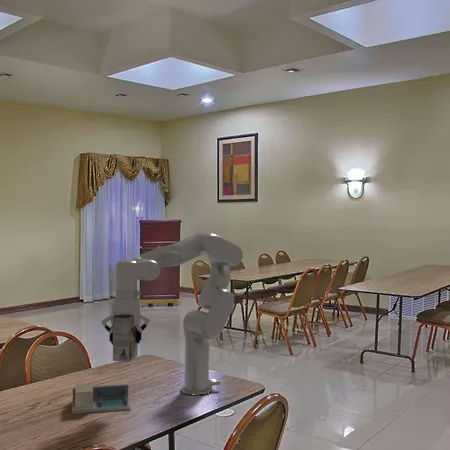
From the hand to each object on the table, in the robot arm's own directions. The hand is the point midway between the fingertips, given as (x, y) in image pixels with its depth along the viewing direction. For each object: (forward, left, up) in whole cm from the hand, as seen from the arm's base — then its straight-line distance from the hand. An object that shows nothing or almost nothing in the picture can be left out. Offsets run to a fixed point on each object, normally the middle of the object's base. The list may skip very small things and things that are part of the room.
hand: (125, 343), depth 193 cm
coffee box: (0, 0, -6) cm, 6 cm away
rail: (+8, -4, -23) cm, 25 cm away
